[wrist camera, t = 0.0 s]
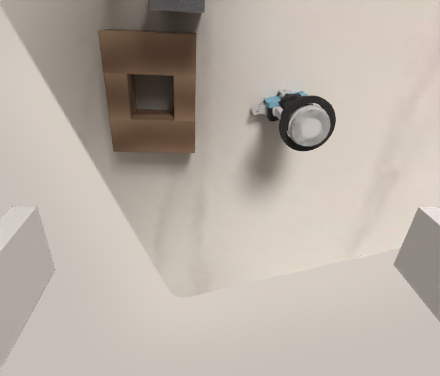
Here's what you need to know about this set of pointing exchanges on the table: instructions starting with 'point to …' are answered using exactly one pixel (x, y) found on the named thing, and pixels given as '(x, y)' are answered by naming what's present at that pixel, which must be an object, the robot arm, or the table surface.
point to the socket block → (126, 97)
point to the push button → (300, 118)
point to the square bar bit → (178, 5)
